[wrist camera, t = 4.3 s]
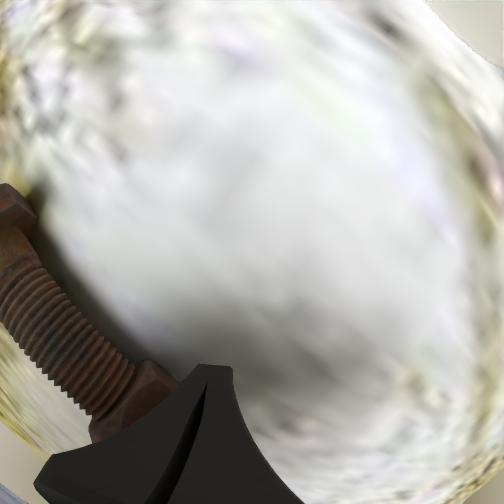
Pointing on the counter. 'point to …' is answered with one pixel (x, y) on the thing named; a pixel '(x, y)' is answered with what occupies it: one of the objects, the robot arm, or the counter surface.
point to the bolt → (68, 334)
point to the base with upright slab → (475, 25)
